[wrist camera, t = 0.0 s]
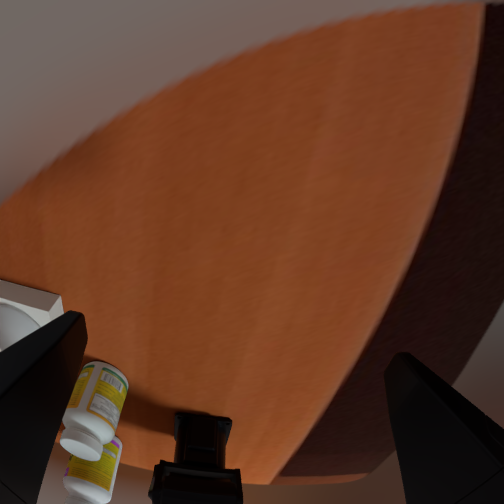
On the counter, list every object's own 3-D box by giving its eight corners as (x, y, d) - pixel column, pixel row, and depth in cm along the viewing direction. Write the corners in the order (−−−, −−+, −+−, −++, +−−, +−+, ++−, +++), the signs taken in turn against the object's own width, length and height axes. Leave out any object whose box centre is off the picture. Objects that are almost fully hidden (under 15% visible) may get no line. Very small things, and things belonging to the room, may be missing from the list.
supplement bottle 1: (126, 364, 28) (101, 445, 20) (131, 396, 31) (113, 469, 22) (78, 354, 28) (45, 428, 19) (88, 387, 30) (63, 455, 22)
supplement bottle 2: (76, 418, 34) (50, 496, 22) (121, 431, 35) (102, 514, 23) (83, 440, 37) (63, 509, 25) (124, 452, 37) (110, 524, 26)
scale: (76, 360, 29) (65, 384, 26) (9, 338, 28) (-5, 359, 25) (62, 292, 25) (45, 315, 22) (-11, 273, 24) (-30, 292, 21)
